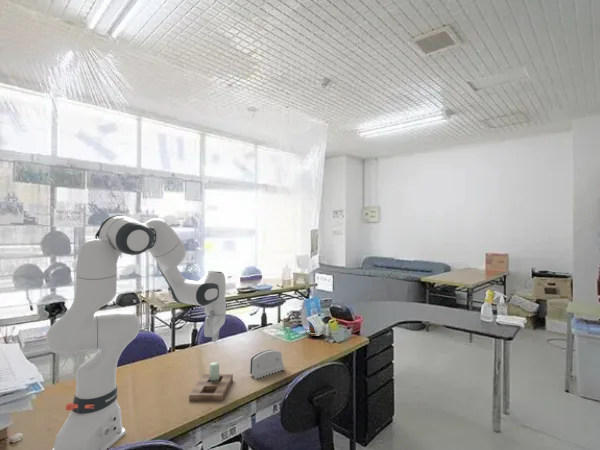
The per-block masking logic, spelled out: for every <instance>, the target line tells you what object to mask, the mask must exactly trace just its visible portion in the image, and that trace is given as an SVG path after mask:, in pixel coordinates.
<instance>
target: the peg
mask: <svg viewBox="0 0 600 450" xmlns="http://www.w3.org/2000/svg"><path fill="white" fill-rule="evenodd" d="M209 374H210V379H209V380H210V382H219V374H220V362H218V361H217V362H216V361H215V362H214V361H213V362H211V363H209Z"/></svg>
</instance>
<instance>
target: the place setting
mask: <svg viewBox="0 0 600 450" xmlns="http://www.w3.org/2000/svg"><path fill="white" fill-rule="evenodd" d="M308 329H309V330H310V332H311V333H315V331H314V328H312V327H311V325H309V326H308ZM308 329H305V330H306V331H307V330H308ZM306 331H304V333H305V335H307V334H308V335H307V336H309V335H311V336H310V337H312V336H314V335H315V334H309V333H307V332H306Z"/></svg>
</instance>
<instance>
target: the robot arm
mask: <svg viewBox="0 0 600 450" xmlns="http://www.w3.org/2000/svg"><path fill="white" fill-rule="evenodd" d="M94 237H95V239H94V238H93V239H90V240H86V241H85V242H83V243H82V244H81V246H80V247H79V251H78V256H77V261H76V268H75V269H76V270H75V291H74V292H75V293H74V299H73V302H72V304H71V306H70V307H69V309H68V310H67V311H66V312H65V314H64V315H63V316H62V317H60V318H59V319H58V320H56V321H55V322H54V323H52V325H50V327H49V329H48V331H47V333H46V338H45V339H46V344H47V345H46V346H47V347H48V348H49V350H50V351H51V352H52V353H54V354H75V353H80V352H81V353H82V352H85V351H90V350H98V351H97V352H96V353H95V354H94V355H93V356H92V357H91V358H89V359H87V360H85V361H84V362H83V363H82V364H81V365H80V366H79V367H78V369H77V370H76V373H75V394H74V397H73V399H72V402H68V403H67V404H66V406H65V410H66V411H70V413H69V415H68V417H67V418H66V420H65V421H64V423H63V425H62V426H61V428H60V430H59V431H58V433H57V434H56V436H55V440H54V445H53V448H52V449H51V450H108V449H109V448H110V447H112V445H114V444H115V443H116V442H118V441H119V440H120V439H121V438H122V437H123V436H125V435H126V434H127V432H126V429H125V427H123V419H122V409H121V406H120V405H119V403H118V400H117V398H118V393H119V390H118V386H117V384H116V383H117V381H116V379H117V370H118V369H117V368H118V361H119V359H120V357H121V355H122V353H123V352H124V350H125V349H126V347H127V346H128V345H129V344H130V343H131V342H133V341H134V340H135V339H136V337H138V334H139V332H140V331H141V330H140V328H141V321H140V319H139V316H138V315H137V314H136V313H135V312H133V311H128V310H127V311H125V310H118V311H117V310H116V311H107V312H101V313H96V312H97V311H99V309H101V308H103V307H104V306H106V305H108V304H110V303H111V302H112V301H113V300H114V299H115V297H116V295H117V286H118V285H117V281H118V279H117V278H118V268H117V267H118V264H117V263H118V260H119V257H120V255H122V253H123V254H125V255H130V256H132V255H133V256H136V255H140V254H143V253H144V252H147V251H148V252H149V253H150V254H151V256H152V257H153V258H154V260H155V261H156V266H157V268H158V270H159V272H160V273H161V276H162V277H163V279H164V280H165V282H166V284H167V285H168V286H169V289H170V292H171V296H172V299H173V300H174V301H175V302H176V303H177V304H183V305H184V304H187V305H194V306H204V315H206V317H205V320H204V327H203V329H204V331H203V335H204V337H205V338H211V341H212V343H216V342H217V341H218V340H219V335H220V329H221V328H222V327H223V325H225V322H226V316H227V309H228V303H227V300H226V297H225V296H226V292H227V290H226V289H227V285H226V284H227V283H226V277H225V274H224V272H222V271H216V270H215V271H214V270H208V271H206V272H205V275H204V276H203V277H202V278H200V279H199V280H191V279H188V278H185V277H184V276H183V275H182V273H181V272H180V270H179V268H178V267H179V265H181V264H182V262H183V261H184V259H185V258H186V256H187V255H186V254H187V249H186V247H185V244H184V243H183V241H182V240H181V238H180V237H179V235H178V234H177V233H176V231H175V230H174V229H173V228H172V227H171V226H170V225H169V224H168V223H167V222H166V221H165V220H163V219H161V218H152V219H149V220H147V221H146V222H145V223H143V222H141V221H140V222H139V221H137V220H136V219H134V218H132V217H130V216H129V217H128V216H125V215H121V214H116V215H115V214H114V215H111V216H108V217H106V218H105V219H104V220H103V221H102V222H101V224H100V225H99V229H98V230H97V232H96V234H95V236H94ZM107 448H108V449H107Z"/></svg>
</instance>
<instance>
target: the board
mask: <svg viewBox="0 0 600 450" xmlns="http://www.w3.org/2000/svg"><path fill="white" fill-rule="evenodd" d="M233 376H234V375H233V374H227V373H226V374H223V373H221V374H220V373H219V382H210V380H209V379H210V373H208V374H207V373H204V374H202V376H201V377H200V379H199V380H198V381H197V383H196V384H195V385H194V387H193V389H192V390H191V392H190V393H189V394H188V402H190V401H191V402H201V401H202V402H222V401H223V400H224V399H225V396H226V395H227V392H228V390H229V389H230V387H231V385H232V382H233V379H234V377H233Z"/></svg>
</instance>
